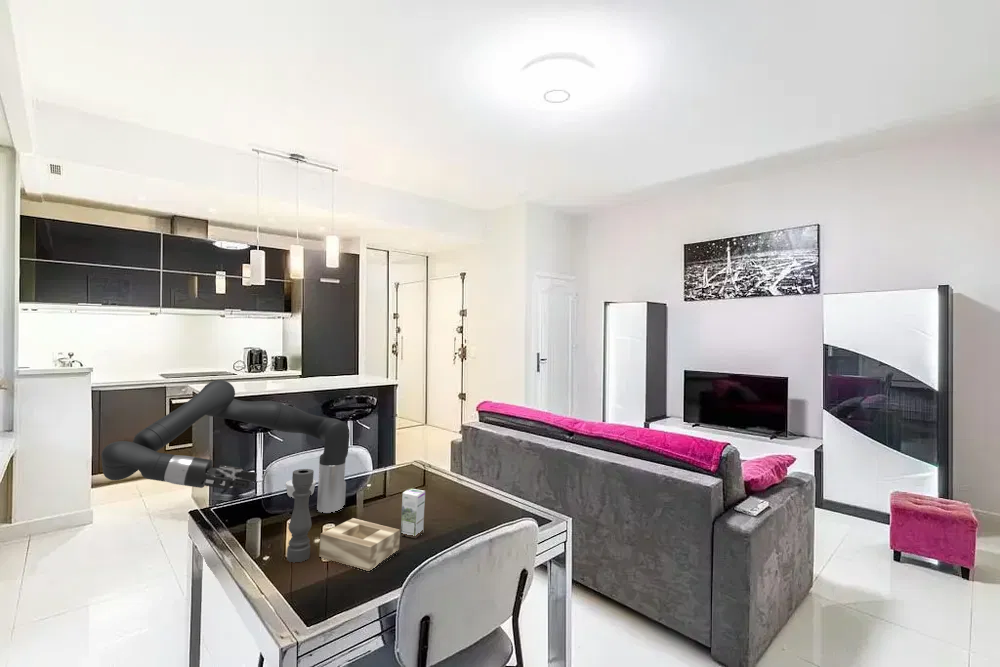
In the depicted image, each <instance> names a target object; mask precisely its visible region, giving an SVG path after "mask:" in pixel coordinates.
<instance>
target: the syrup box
mask: <svg viewBox="0 0 1000 667" xmlns="http://www.w3.org/2000/svg"><path fill="white" fill-rule="evenodd" d="M401 498H402V502H401V522H400V524H401V525H400V534H401V533H403V534H407V535H413V536H416V535H417V534H418V533H420V532H421V531H422V530H423V531H424V520H425V502H426V490H422V489H418V488H417V489H416V488H408V489H406V490H405V491H403V492H402V497H401Z"/></svg>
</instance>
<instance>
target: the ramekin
mask: <svg viewBox="0 0 1000 667" xmlns="http://www.w3.org/2000/svg"><path fill="white" fill-rule="evenodd" d="M316 484H317V480H316V479H315V478H313V483H312V486H311V487H310V489H309V490H310V491H311V492H312V493H311V496H312V495H313V494H314V491H315V487H316ZM285 487H286V493H287V496H288V497H289V498H291V497H292V498H291V499H295V498H294V497H293V495H292V493H293V492H294V491H295V489H294V487H293V484H292V479H290V480H287V481H286V482H285Z"/></svg>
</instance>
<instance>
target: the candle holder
mask: <svg viewBox="0 0 1000 667" xmlns="http://www.w3.org/2000/svg"><path fill="white" fill-rule="evenodd" d="M291 478H292V479H291V480H292V484H293V487H294V489H295V491H294V492H293V493H292V495H293V497H294V498H293V499H294V503H293V510H292V514H291V518H290V521H289V523H288V530H289V532H290V534H291V535H290V536H291V538H290V539H289V541H288V546H287V547H286V548H287V549H286V550H287V551H286V561H287V560H288V561H289V563H291V562H293V563H292V564H296V563H295V562H300V563H303V562H302V561H304V562H306V561H308V560H309V559H310V557H311V544H310V541H311V539H310V538H309V537H308V535H309V532H310V530H311V528H312V517H311V514H310V508H309V501H310V495H311V493H312V492H311V491H310V490H309V489H310V487H311V486H312V483H313V479H314V470H313V469H309V468H300V469H299V468H298V469H295V470H294V471H292V477H291ZM311 496H312V495H311ZM307 559H308V560H307ZM305 560H306V561H305ZM288 561H287V562H288Z"/></svg>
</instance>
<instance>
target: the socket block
mask: <svg viewBox="0 0 1000 667" xmlns="http://www.w3.org/2000/svg"><path fill="white" fill-rule="evenodd" d="M319 536H320V538H319V554H318V555H319V556H318V557H321V558H320V559H322V558H324V559H323V560H325V559H327V560H326V561H329V560H332V561H336V562H339V563H342V564H346V565H350V566H354V567H357V568H360V569H363V570H366V571H370V570H372V569H373V568H375V567H376V566H377V565H378V564H379V563H381V562H382V561H383V560H385V559H386V558H388V557H389V556H390V555H392V554H393V553H395V552H396V551H398V550H399V551H400V540H401V538H400V537H401V529H398V528H394V527H391V526H386V525H381V524H379V523H374V522H371V521H366V520H362V519H358V518H354V517H352V518H351V519H348V520H346V521H344V522H342V523H340V524H338V525H335V526H334V527H333V526H332V528H329V529H328V530H326V531H323V532H321V533H320V534H319ZM332 561H331V562H332ZM339 563H338V564H339ZM342 564H341V565H342ZM375 569H376V568H375ZM372 571H373V570H372Z"/></svg>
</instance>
